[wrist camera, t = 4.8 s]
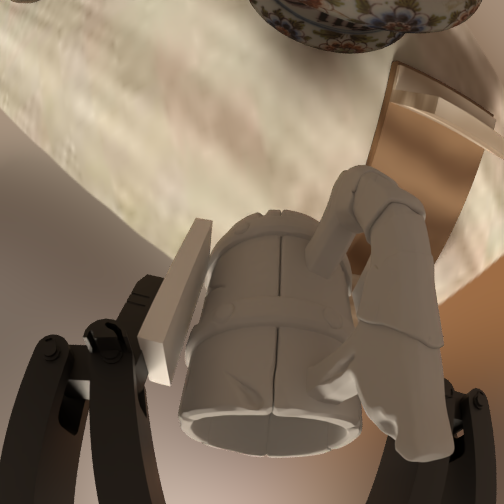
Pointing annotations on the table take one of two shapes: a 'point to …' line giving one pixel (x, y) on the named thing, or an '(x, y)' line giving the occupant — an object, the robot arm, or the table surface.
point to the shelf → (427, 153)
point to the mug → (320, 331)
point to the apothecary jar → (361, 20)
